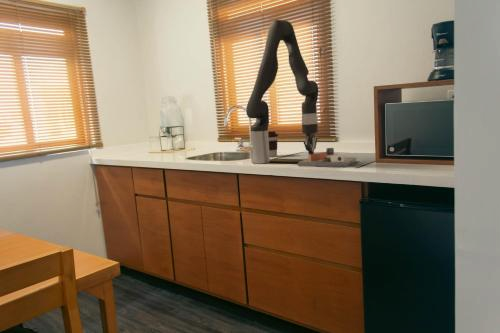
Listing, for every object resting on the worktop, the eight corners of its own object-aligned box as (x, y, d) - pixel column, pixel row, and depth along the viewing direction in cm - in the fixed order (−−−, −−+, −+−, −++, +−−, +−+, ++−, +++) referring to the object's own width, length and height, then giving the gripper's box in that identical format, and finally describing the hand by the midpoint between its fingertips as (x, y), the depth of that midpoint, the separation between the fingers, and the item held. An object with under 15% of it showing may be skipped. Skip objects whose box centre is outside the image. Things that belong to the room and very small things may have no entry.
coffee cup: (282, 155, 239) (281, 130, 237) (272, 157, 232) (270, 132, 230) (269, 155, 246) (268, 131, 244) (259, 157, 239) (257, 132, 237)
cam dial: (315, 162, 185) (314, 151, 184) (304, 161, 192) (304, 150, 191) (342, 157, 194) (341, 147, 193) (330, 156, 201) (330, 147, 200)
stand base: (298, 166, 193) (297, 156, 192) (310, 161, 208) (310, 151, 207) (346, 166, 181) (346, 156, 181) (356, 161, 196) (356, 151, 195)
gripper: (307, 122, 197) (308, 157, 200) (297, 124, 186) (299, 160, 188) (321, 121, 193) (323, 157, 196) (312, 123, 182) (314, 161, 185)
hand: (311, 158), depth 192 cm, fingers closed
